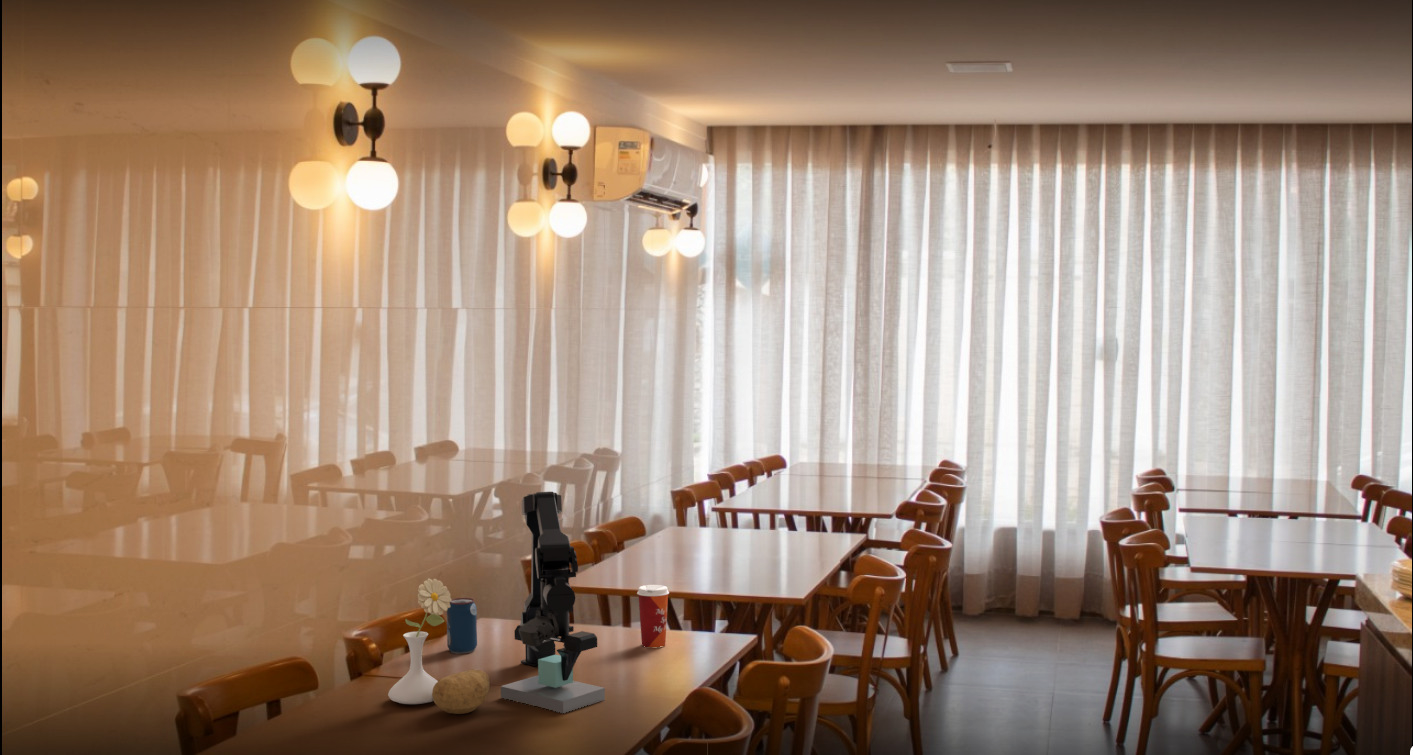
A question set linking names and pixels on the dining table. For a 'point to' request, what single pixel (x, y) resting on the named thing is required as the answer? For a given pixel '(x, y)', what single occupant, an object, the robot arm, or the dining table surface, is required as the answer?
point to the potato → (461, 691)
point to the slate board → (553, 694)
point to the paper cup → (653, 614)
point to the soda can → (462, 625)
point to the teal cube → (552, 672)
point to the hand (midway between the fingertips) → (555, 678)
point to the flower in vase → (421, 646)
